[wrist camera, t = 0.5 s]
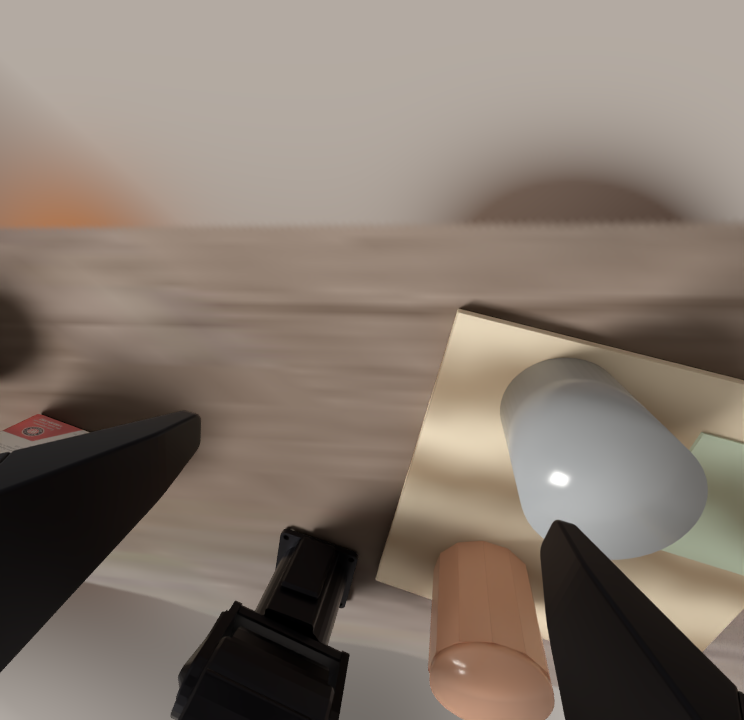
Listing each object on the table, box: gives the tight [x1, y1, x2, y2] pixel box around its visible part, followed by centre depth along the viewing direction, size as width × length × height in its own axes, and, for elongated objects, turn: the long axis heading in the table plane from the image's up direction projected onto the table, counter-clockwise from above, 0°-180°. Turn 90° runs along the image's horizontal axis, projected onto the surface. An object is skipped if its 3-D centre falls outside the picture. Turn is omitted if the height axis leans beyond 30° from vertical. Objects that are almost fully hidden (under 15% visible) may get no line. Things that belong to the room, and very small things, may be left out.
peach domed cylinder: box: [428, 541, 554, 720], centre depth 23 cm, size 6×6×7 cm
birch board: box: [376, 309, 744, 652], centre depth 23 cm, size 22×22×1 cm
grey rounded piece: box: [500, 358, 708, 560], centre depth 17 cm, size 6×6×7 cm
